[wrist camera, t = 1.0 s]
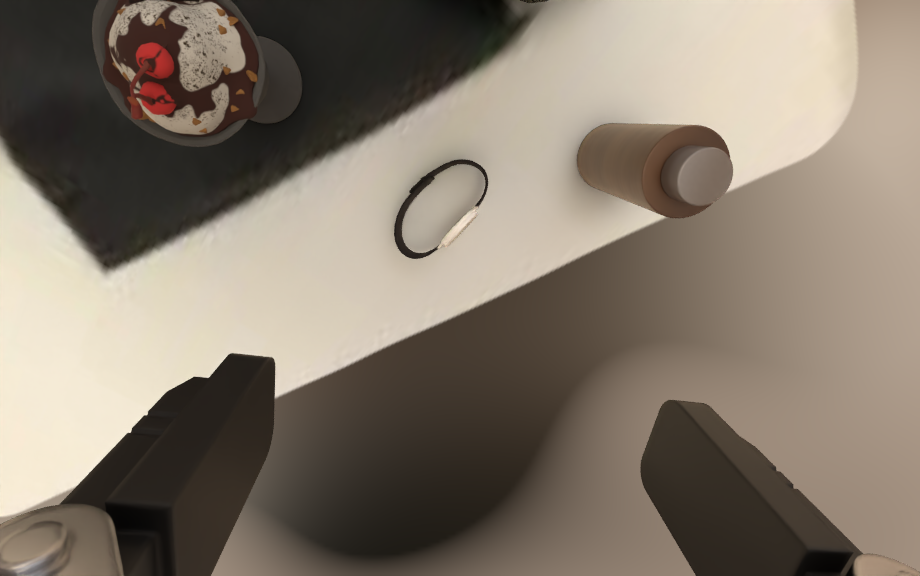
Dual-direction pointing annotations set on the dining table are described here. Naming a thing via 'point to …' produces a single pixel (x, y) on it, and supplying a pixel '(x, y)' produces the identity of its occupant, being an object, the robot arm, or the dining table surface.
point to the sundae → (191, 68)
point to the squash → (533, 1)
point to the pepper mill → (657, 166)
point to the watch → (456, 229)
